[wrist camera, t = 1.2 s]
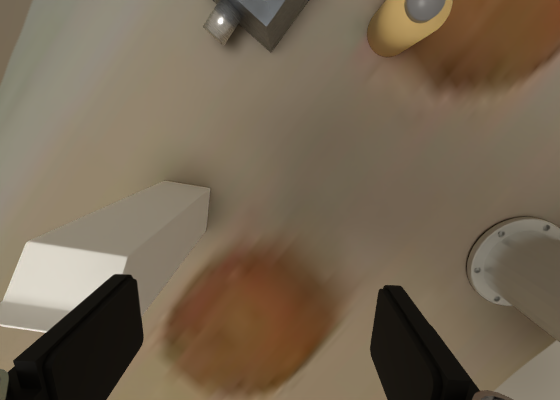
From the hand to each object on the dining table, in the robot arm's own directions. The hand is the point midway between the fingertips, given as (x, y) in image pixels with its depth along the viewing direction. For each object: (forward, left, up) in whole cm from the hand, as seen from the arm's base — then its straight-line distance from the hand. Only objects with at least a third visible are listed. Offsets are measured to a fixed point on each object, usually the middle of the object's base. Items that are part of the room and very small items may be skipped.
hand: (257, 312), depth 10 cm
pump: (-15, -15, -24) cm, 32 cm away
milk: (+12, +1, -25) cm, 27 cm away
